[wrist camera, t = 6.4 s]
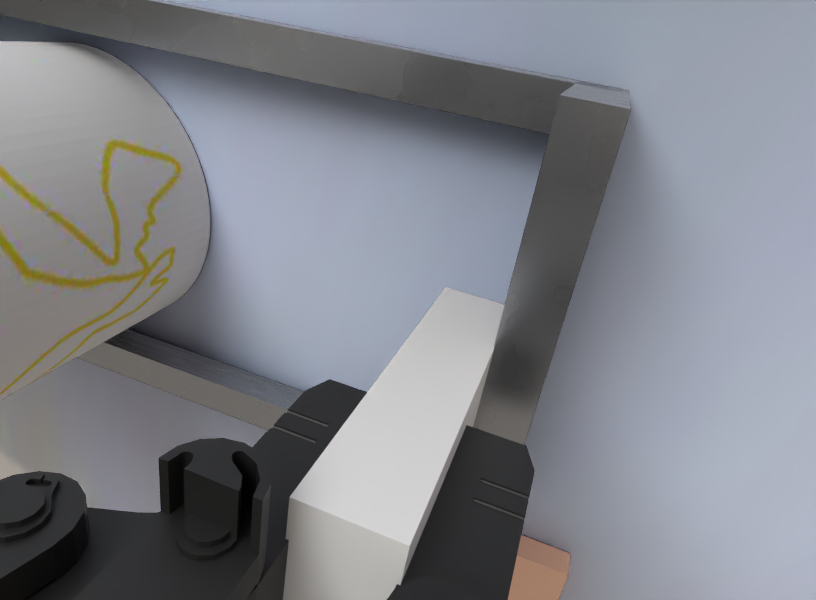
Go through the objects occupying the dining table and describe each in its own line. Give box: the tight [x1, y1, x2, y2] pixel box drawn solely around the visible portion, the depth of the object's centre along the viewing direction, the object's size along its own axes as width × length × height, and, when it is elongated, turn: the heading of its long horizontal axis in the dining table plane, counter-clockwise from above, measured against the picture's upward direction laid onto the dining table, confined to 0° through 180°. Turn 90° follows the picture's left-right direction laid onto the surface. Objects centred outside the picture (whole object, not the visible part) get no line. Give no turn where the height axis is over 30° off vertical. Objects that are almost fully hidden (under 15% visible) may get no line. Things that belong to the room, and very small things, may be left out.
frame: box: [0, 0, 631, 445], centre depth 14 cm, size 19×11×4 cm, turn 80°
